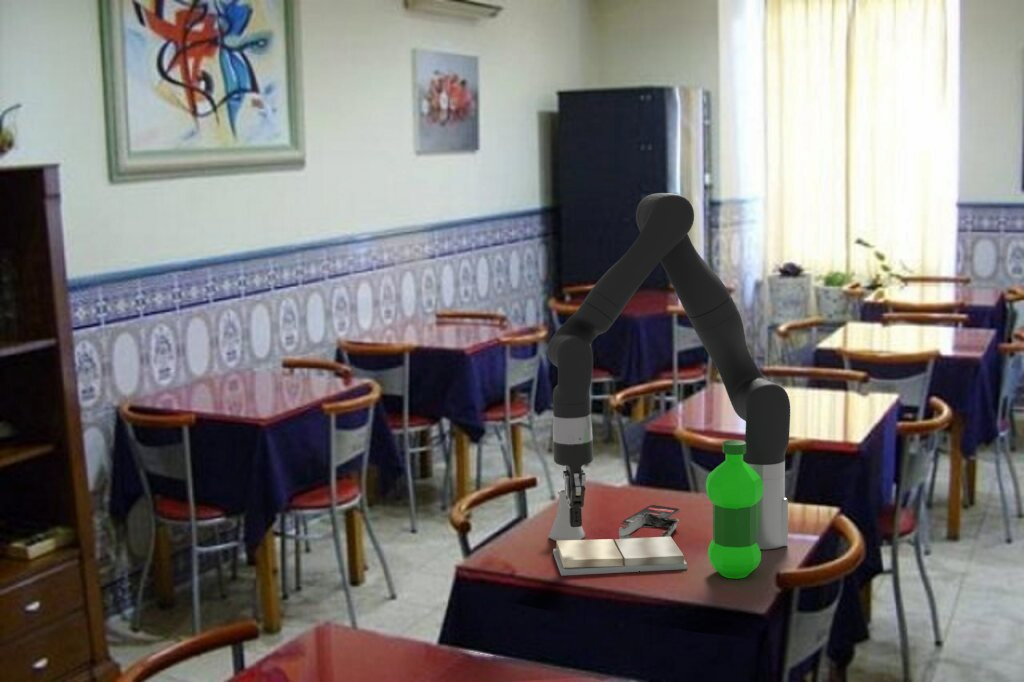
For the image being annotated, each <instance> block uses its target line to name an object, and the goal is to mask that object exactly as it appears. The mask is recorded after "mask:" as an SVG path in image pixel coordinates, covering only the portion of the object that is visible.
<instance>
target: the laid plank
mask: <svg viewBox="0 0 1024 682" xmlns="http://www.w3.org/2000/svg"><path fill="white" fill-rule="evenodd" d="M613 541H614V543H615V545H616V547H617V549H618V550H619V552H620V554H621V556H622V558H623V563H624V565H625V566H640V565H659V564H678V563H684V560H685V555H684V554H683V552H682V550H681V549H680V548H679V546H678V545H677V544H676V542H675V541H674V539H673V538H672V535H671V536H669V537H661V536H654V537H652V536H651V537H643V538H636V537H634V538H630V539H620V538H618V539H617V538H614V539H613Z"/></svg>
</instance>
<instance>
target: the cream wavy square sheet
mask: <svg viewBox="0 0 1024 682" xmlns="http://www.w3.org/2000/svg"><path fill="white" fill-rule="evenodd" d="M555 542H556V543H555V544H556V547H555V549H557V551H558V554H559V556H560V559H561V562H562V564H563V567H564V568H572V567H608V566H623V558H622V556H621V554H620V552H619V550H618V549H617V547H616V545H615V543H614V539H613V538H610V539H609V538H607V539H605V538H604V539H601V538H600V539H581V540H559V541H555Z"/></svg>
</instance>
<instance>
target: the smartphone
mask: <svg viewBox="0 0 1024 682" xmlns="http://www.w3.org/2000/svg"><path fill="white" fill-rule="evenodd" d="M679 512H680V508H676V507H670V506H662V505H655V504H650V505H647V506H646V507H644V508H643V509H641V510H639V511H638V512H635V513H634V514H632V515H631V516H630V517H628V518H625V519H624V520H622V521H621V524H622V525H628V523H630V522H633V521H634V520H635V519H636V518H640V519H639V520H641V519H642V517H643V516H644V514H645V513H651V514H654V515H655V516H658V517H664V518H670V517H672V516H673V515H675V514H676V513H679ZM642 527H644V528H654V527H655V526H654V525H650V524H644V525H642ZM642 527H641V528H642Z"/></svg>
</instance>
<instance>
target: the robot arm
mask: <svg viewBox="0 0 1024 682" xmlns="http://www.w3.org/2000/svg"><path fill="white" fill-rule="evenodd" d="M636 207H637V208H636V211H635V219H636V220H635V221H636V225H637V228H638V230H639V235H638V236H637V237H636V239H635V241H634V242H633V243H632V245H631V246H630V247H629V249H628V250H627V251H626V252H625V253H624V254H623V255H622V256H621V258H620V259H618V260H617V261H616V262H615V263H613V265H612V266H611V267H610V268H609V269H608V270H607V271H606V272H605V273H604V274H603V275H602V276H601V277H600V279H598V281H597V282H596V283H595V285H594V286H593V287H592V289H591V290H590V291H589V292H588V293H587V295H586V297H585V299H584V300H583V301H582V302H581V304H580V306H579V308H578V309H577V310H576V311H575V312H574V313H573V314H572V315H571V316H570V317H568V318H567V319H566V321H565V322H564V323H563V324H562V325H561V326H560V327H559V328H558V329H557V330H556V332H555V333H554V334H553V336H552V337H551V338H550V341H549V343H548V345H547V356H548V360H549V362H551V364H552V365H553V366H555V367H557V385H555V387H554V388H553V391H552V408H553V409H552V412H553V420H552V444H553V445H552V447H553V450H552V451H553V452H552V453H553V461H554V463H555V464H556V465H559V466H563V467H564V466H565V470H562V479H563V480H564V489H565V493H566V499H567V500H568V502H567V504H568V506H569V522H570V525H571V527H581V526H582V525H583V518H582V517H583V516H582V514H583V513H582V508H583V507H584V506H585V495H586V494H585V493H586V487H585V483H586V472H584V469H582V467H583V466H584V465H589V464H591V463H592V462H593V460H594V446H593V445H594V444H593V443H594V442H593V422H592V418H591V416H592V415H591V397H590V389H591V385H592V384H591V383H592V378H593V370H594V354H593V349H592V346H591V343H592V342H594V340H595V339H597V337H598V336H600V335H601V334H604V333H607V331H609V329H610V328H611V327H612V326H613V324H615V321H616V320H617V319H618V317H619V316H620V315H621V313H622V311H624V309H625V308H626V306H627V304H628V303H629V302H630V301H631V299H632V297H633V296H634V295H635V294H636V293H637V291H638V289H639V288H640V287H641V285H643V283H644V282H645V280H646V279H647V278H648V277H649V275H650V274H651V273H652V272H653V271H654V270H655V269H656V267H658V265H659V264H661V265H662V267H663V269H664V270H665V273H666V274H667V277H668V279H669V281H670V284H671V287H672V288H673V289H674V292H675V294H676V296H677V298H678V299H679V301H680V303H681V306H682V307H683V310H684V312H685V315H686V317H687V318H688V320H689V322H690V324H691V326H692V327H693V329H694V331H695V333H696V335H697V336H698V338H699V341H700V342H701V344H702V345H703V347H704V349H705V350H706V352H707V354H708V356H709V358H710V359H711V361H712V362H713V364H714V365H715V367H716V370H717V371H718V373H719V376H720V378H721V380H722V383H723V386H724V388H725V390H726V393H727V396H728V398H729V401H730V404H731V406H732V408H733V410H734V413H736V415H737V416H738V417H739V418H740V419H742V420H743V421H745V433H744V434H745V435H744V436H745V437H744V440H743V441H744V442H746V453H745V454H743V461H744V462H745V463H747V464H748V465H749V466H750V467H751V468H752V469H753V470H754V471H755V472H757V473H758V475H759V476H760V477H761V480H762V482H763V495H762V499H761V500H760V501H759V502H758V503H757V504H756V543H757V544H758V546H759V549H760V550H773V549H779V548H781V547H788V546H789V541H788V540H789V526H788V525H789V500H788V498H787V497H786V495H785V494H786V491H785V490H786V471H785V470H786V451H787V450H788V447H789V445H790V444H789V443H790V431H791V429H790V428H791V402H790V397H789V395H788V393H787V391H786V390H785V388H784V387H782V386H781V385H780V384H778V383H775V382H773V381H770V380H768V379H766V378H765V376H764V375H763V374H762V372H761V370H760V369H759V368H758V366H757V365H756V363H755V361H754V359H753V358H752V356H751V354H750V352H749V349H748V346H747V341H746V335H745V327H744V324H743V320H742V319H743V318H742V316H741V314H740V312H739V309H738V306H737V305H736V303H735V302H734V299H733V297H732V295H731V293H730V292H729V290H728V288H727V286H726V285H725V284H724V282H723V281H722V279H720V277H719V275H717V274H716V272H715V271H714V270H713V268H711V267H710V266H709V264H708V263H707V262H706V261H705V260H704V258H702V257H701V256H700V254H699V253H698V251H697V249H696V248H695V246H694V244H693V243H692V241H691V238H690V237H689V236H690V235H689V234H688V233H689V232H690V231H691V229H692V227H693V225H694V220H695V211H694V207H693V206H692V204H691V202H690V200H688V199H687V197H685V196H683V195H681V194H679V193H678V194H677V193H671V192H668V193H667V192H657V193H652V194H649V195H647V196H644V197H643V198H642V199H641V200H640V201H639V203H638V205H637V206H636ZM582 527H583V526H582Z"/></svg>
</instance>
